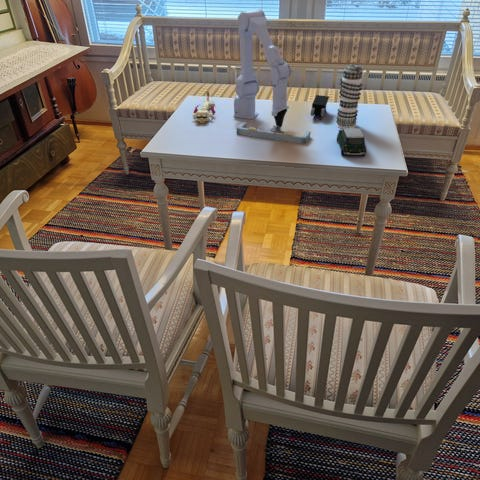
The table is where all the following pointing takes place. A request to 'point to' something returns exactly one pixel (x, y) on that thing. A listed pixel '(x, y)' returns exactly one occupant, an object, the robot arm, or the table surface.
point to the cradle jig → (272, 134)
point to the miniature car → (351, 141)
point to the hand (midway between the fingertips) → (278, 126)
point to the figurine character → (319, 106)
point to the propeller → (273, 128)
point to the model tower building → (349, 96)
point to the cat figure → (204, 111)
